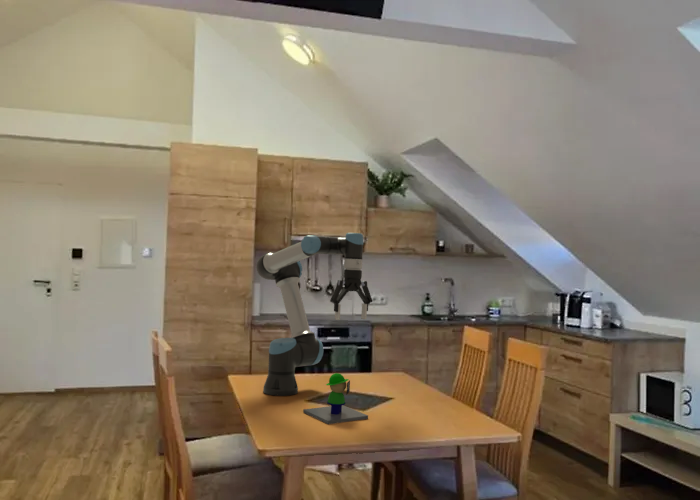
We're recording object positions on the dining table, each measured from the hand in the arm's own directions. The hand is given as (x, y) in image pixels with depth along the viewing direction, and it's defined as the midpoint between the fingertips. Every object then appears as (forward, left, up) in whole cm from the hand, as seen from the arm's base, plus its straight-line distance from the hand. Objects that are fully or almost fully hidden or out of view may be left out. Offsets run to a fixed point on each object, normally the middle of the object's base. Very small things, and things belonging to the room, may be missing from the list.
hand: (350, 319), depth 257 cm
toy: (+17, -17, -34) cm, 41 cm away
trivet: (+17, -17, -35) cm, 42 cm away
